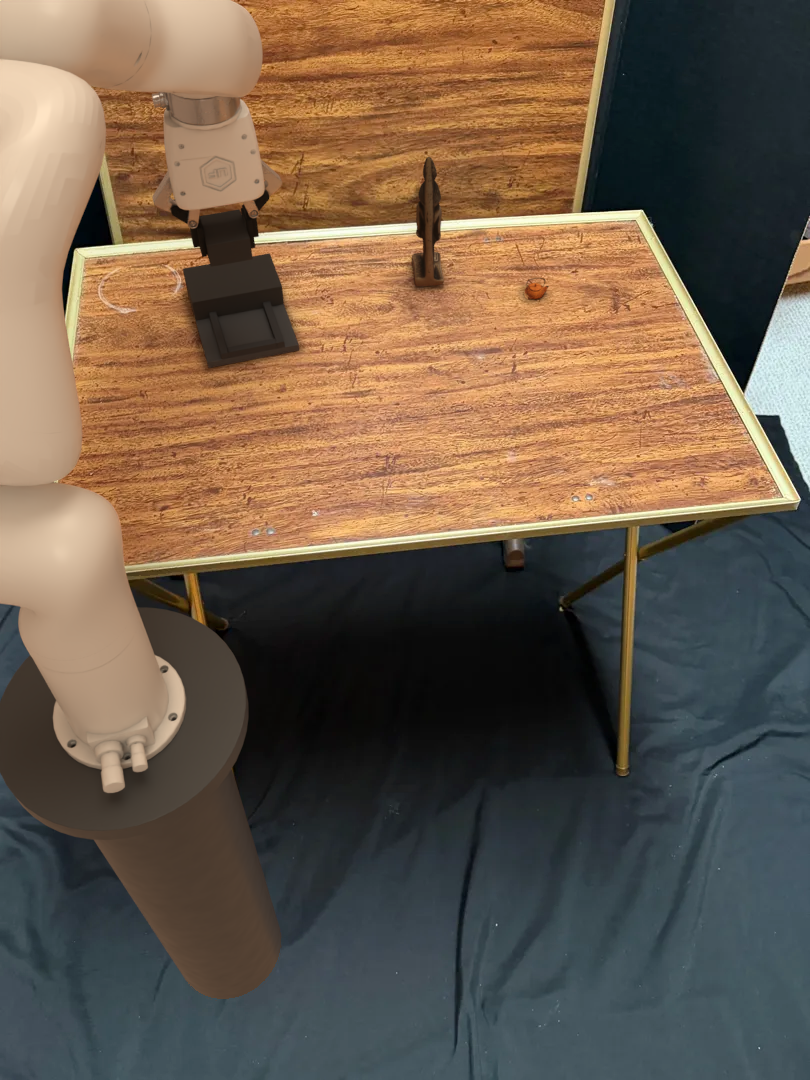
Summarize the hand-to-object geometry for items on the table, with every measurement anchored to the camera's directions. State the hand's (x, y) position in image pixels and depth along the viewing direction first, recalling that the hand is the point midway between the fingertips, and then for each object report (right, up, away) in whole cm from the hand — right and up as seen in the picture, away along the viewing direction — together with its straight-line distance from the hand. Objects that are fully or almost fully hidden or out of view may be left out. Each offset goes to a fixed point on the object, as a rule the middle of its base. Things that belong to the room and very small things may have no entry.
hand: (226, 244), depth 116 cm
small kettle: (+39, -1, +19) cm, 44 cm away
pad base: (-1, -6, +15) cm, 16 cm away
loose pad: (0, 0, 0) cm, 1 cm away
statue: (+25, +2, +21) cm, 33 cm away
